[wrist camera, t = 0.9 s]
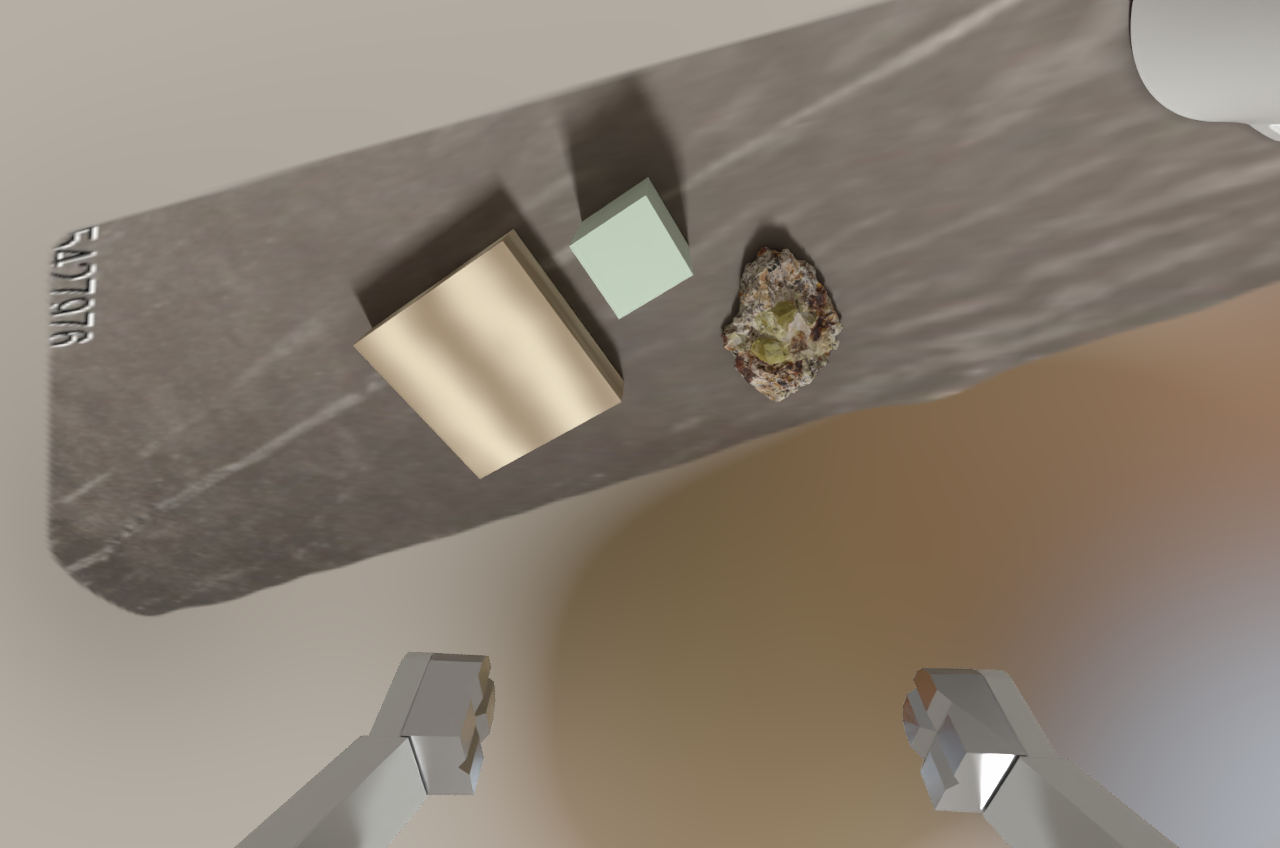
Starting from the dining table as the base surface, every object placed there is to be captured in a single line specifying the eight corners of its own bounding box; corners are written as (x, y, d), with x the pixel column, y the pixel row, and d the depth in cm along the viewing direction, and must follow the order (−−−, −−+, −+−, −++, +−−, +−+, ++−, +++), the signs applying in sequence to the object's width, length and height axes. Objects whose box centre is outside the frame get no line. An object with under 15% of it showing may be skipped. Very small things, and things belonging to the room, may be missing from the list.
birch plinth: (513, 228, 38) (502, 240, 35) (624, 381, 43) (621, 401, 41) (371, 328, 42) (352, 345, 39) (490, 456, 47) (480, 478, 45)
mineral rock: (858, 388, 40) (750, 423, 40) (826, 366, 44) (727, 398, 44) (849, 233, 35) (726, 270, 35) (814, 223, 39) (703, 257, 38)
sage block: (648, 176, 36) (645, 195, 31) (689, 246, 38) (693, 274, 33) (582, 221, 37) (569, 246, 32) (624, 286, 39) (619, 319, 34)
